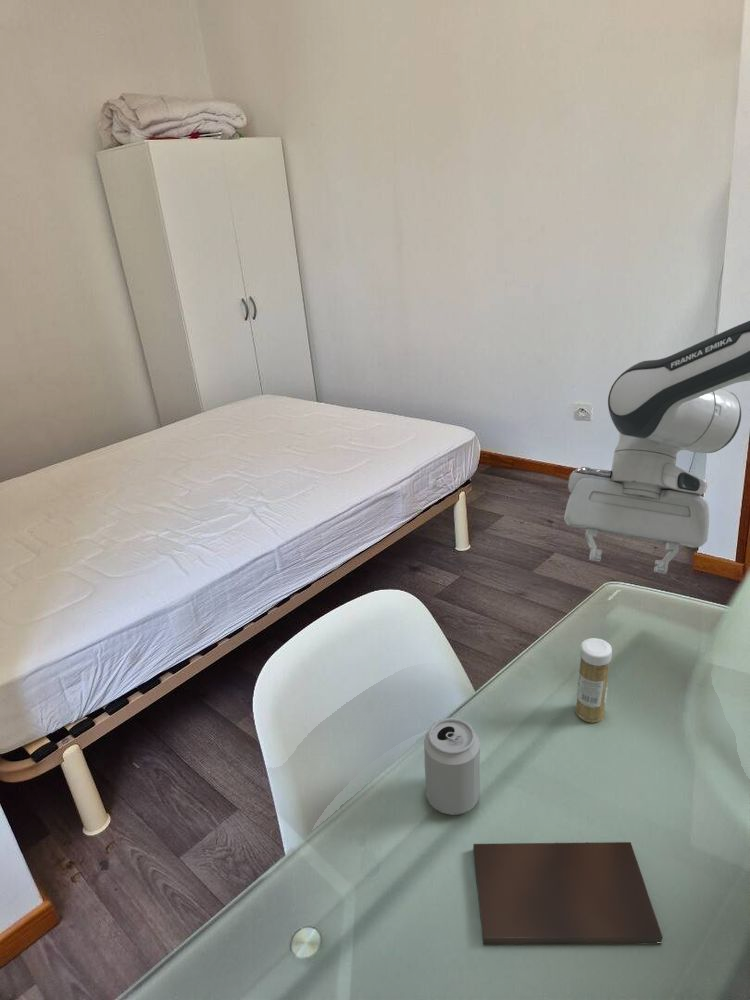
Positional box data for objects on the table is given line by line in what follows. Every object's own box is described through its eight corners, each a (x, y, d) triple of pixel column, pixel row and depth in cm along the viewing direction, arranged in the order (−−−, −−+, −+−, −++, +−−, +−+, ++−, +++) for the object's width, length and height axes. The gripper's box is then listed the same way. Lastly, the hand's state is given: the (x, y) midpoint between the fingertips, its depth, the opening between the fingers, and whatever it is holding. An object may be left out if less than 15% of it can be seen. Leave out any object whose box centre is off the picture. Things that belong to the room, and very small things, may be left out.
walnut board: (629, 848, 88) (630, 841, 88) (661, 944, 77) (662, 937, 77) (473, 849, 89) (473, 843, 89) (483, 944, 79) (483, 938, 78)
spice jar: (609, 712, 109) (618, 645, 103) (594, 728, 106) (602, 660, 100) (583, 699, 112) (590, 632, 106) (568, 714, 109) (575, 647, 103)
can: (449, 766, 102) (448, 704, 96) (490, 794, 97) (491, 731, 91) (414, 797, 97) (411, 734, 92) (456, 829, 92) (455, 764, 87)
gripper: (573, 461, 102) (558, 553, 101) (719, 484, 98) (705, 579, 97) (568, 467, 108) (554, 554, 107) (705, 489, 105) (691, 579, 103)
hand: (627, 566), depth 102 cm, fingers open, 8 cm apart
